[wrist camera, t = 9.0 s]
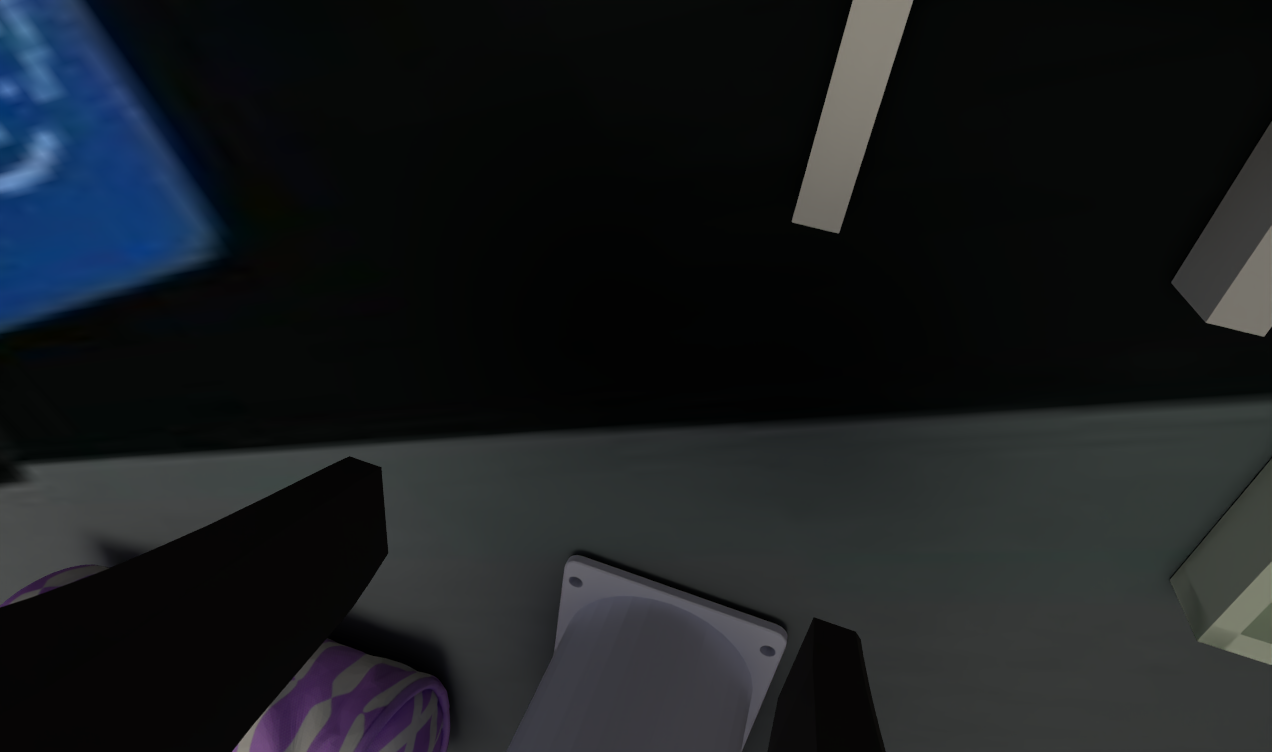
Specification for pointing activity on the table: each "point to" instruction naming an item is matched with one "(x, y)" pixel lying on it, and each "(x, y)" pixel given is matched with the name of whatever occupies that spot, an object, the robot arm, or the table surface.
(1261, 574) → the tray
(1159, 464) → the table surface
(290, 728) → the pencil case
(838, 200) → the dock
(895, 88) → the table surface
